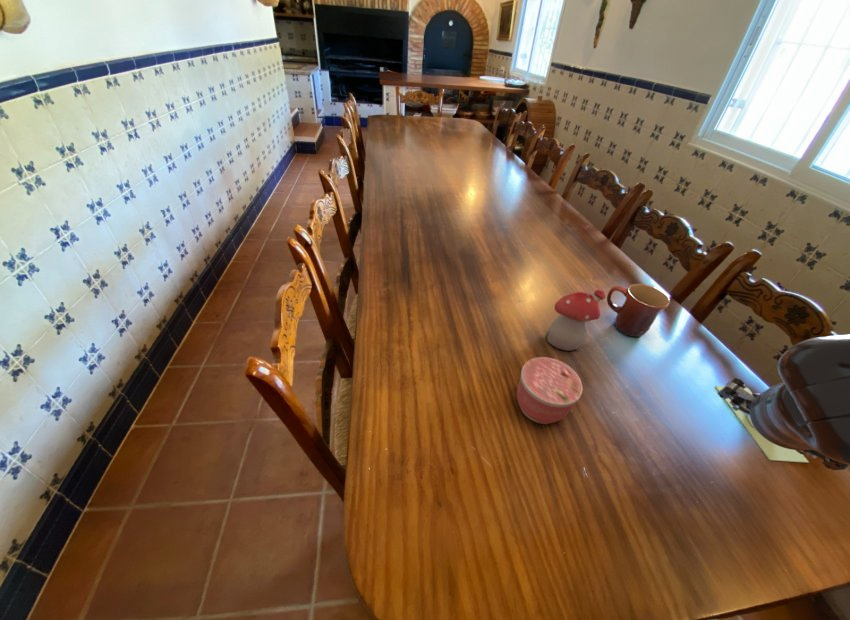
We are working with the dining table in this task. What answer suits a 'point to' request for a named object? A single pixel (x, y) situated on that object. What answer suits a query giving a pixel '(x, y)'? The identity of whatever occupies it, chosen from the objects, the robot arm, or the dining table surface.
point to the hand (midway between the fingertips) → (769, 424)
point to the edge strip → (767, 447)
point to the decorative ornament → (574, 319)
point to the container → (547, 390)
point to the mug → (637, 308)
